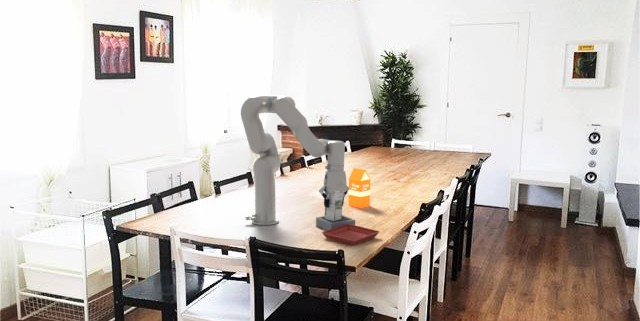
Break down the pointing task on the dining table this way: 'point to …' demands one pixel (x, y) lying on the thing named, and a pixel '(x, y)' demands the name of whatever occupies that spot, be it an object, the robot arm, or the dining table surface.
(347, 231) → the plant saucer
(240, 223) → the dining table surface
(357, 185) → the orange juice
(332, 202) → the syrup box
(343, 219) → the bin
